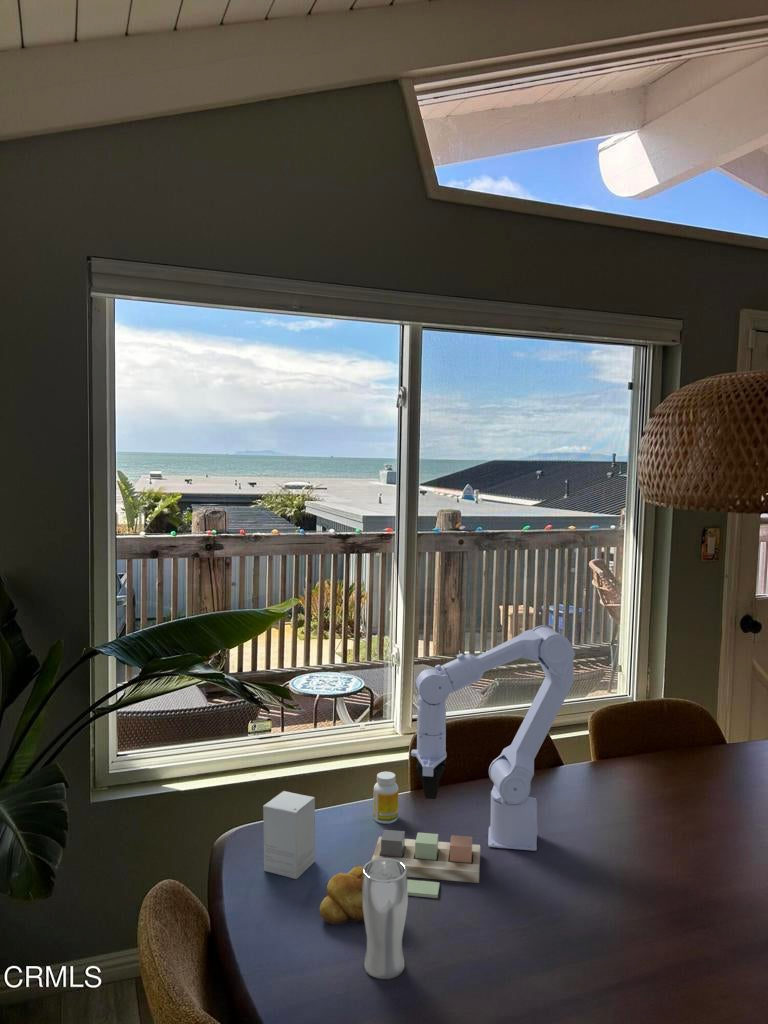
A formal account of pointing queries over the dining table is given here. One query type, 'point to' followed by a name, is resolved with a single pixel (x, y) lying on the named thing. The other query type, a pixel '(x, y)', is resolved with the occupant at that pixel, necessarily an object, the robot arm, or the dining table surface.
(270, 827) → the supplement box
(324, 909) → the bread roll
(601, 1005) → the dining table surface
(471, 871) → the key console
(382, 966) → the beer glass
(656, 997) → the dining table surface
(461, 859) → the key terracotta
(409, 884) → the tile
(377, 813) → the supplement bottle
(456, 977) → the dining table surface
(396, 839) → the key charcoal
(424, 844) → the key sage
